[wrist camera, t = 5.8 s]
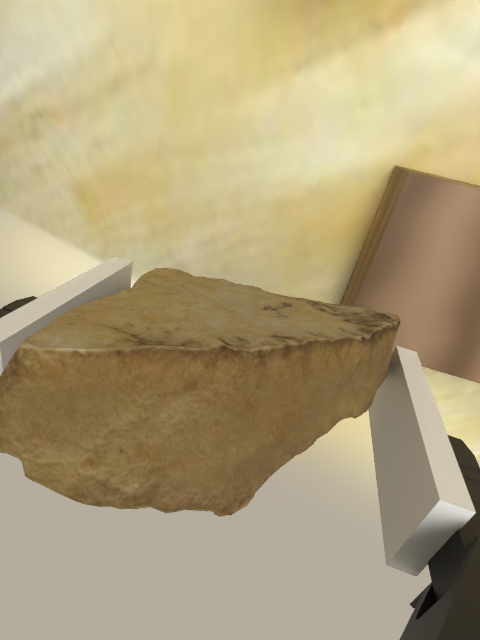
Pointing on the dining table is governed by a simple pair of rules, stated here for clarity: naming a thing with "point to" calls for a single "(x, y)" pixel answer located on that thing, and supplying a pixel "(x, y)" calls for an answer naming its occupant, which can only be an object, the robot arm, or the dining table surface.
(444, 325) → the walnut block
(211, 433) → the rock
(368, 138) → the dining table surface
